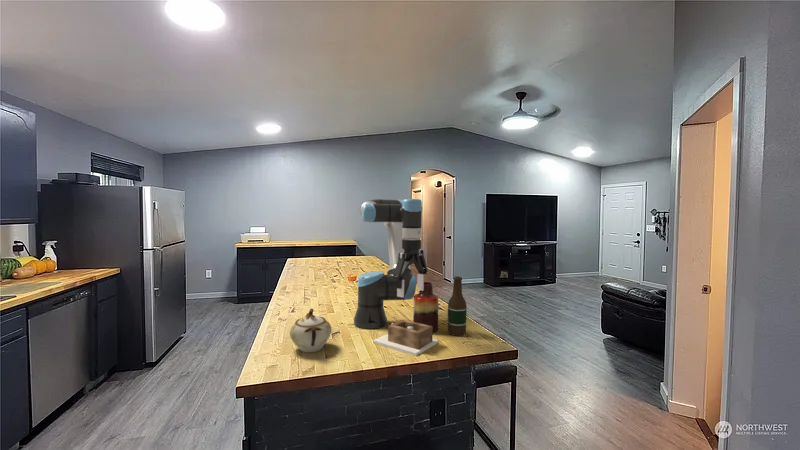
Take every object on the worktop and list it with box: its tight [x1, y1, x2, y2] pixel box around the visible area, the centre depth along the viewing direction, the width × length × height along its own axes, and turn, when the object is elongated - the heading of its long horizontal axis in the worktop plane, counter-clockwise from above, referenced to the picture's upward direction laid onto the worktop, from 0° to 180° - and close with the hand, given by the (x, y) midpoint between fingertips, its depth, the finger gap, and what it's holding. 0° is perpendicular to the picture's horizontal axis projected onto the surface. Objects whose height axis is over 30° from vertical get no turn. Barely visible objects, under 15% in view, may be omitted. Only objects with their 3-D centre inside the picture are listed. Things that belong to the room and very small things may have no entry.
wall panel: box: [372, 322, 439, 357], centre depth 135 cm, size 20×16×6 cm
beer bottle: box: [447, 275, 468, 337], centre depth 146 cm, size 8×8×24 cm
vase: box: [412, 281, 439, 334], centre depth 150 cm, size 11×11×20 cm
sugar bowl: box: [289, 308, 332, 353], centre depth 128 cm, size 20×15×15 cm
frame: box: [387, 319, 433, 350], centre depth 133 cm, size 14×10×6 cm
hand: (410, 293), depth 134 cm, fingers open, 13 cm apart
